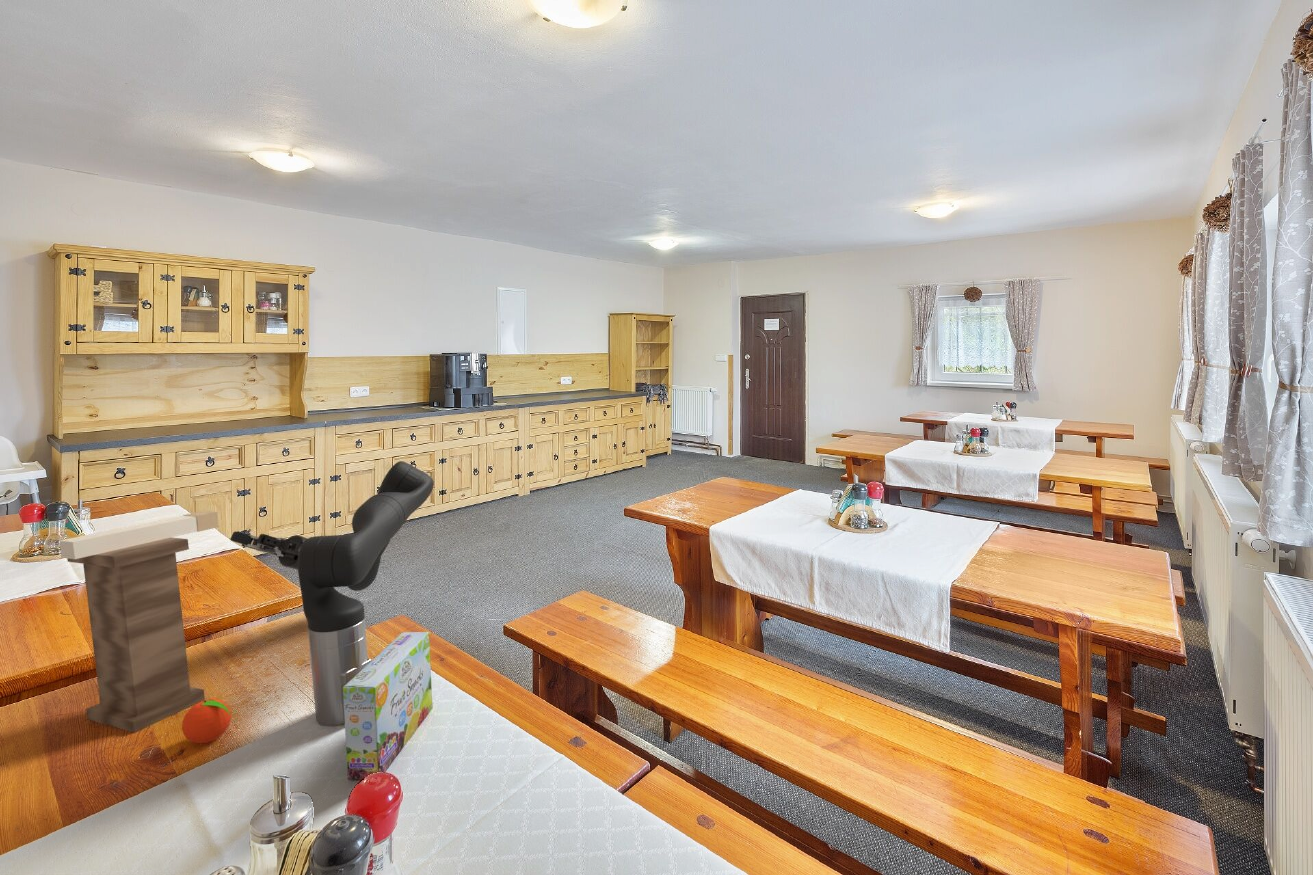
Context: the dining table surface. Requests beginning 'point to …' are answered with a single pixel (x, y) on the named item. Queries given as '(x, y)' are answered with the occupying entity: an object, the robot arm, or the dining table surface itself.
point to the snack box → (387, 704)
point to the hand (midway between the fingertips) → (246, 537)
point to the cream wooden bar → (137, 534)
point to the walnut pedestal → (138, 634)
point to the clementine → (206, 721)
